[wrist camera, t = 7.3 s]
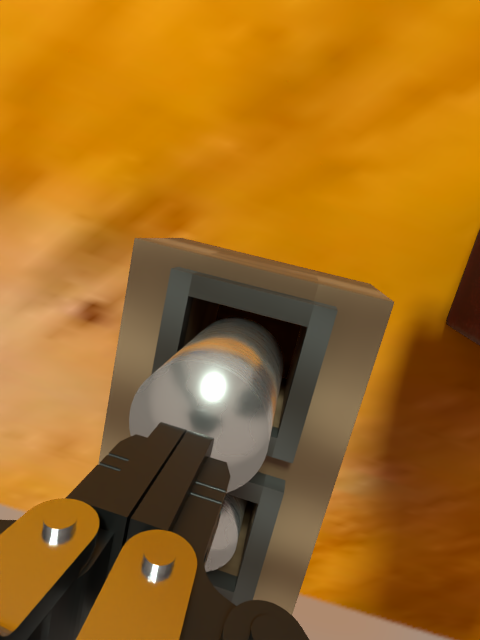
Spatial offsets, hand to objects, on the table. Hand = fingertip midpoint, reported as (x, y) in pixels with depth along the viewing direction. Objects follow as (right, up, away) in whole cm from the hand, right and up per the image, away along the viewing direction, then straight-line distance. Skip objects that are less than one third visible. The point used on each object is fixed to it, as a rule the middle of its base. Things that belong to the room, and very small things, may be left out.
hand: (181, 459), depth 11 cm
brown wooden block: (+2, -1, +16) cm, 16 cm away
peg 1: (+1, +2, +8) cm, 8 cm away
